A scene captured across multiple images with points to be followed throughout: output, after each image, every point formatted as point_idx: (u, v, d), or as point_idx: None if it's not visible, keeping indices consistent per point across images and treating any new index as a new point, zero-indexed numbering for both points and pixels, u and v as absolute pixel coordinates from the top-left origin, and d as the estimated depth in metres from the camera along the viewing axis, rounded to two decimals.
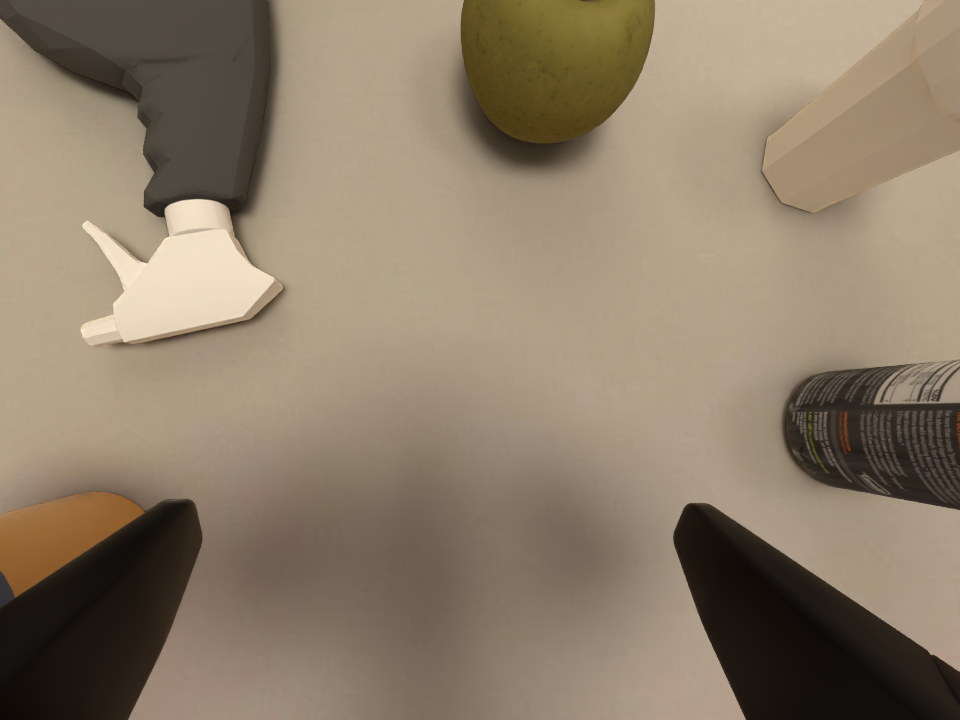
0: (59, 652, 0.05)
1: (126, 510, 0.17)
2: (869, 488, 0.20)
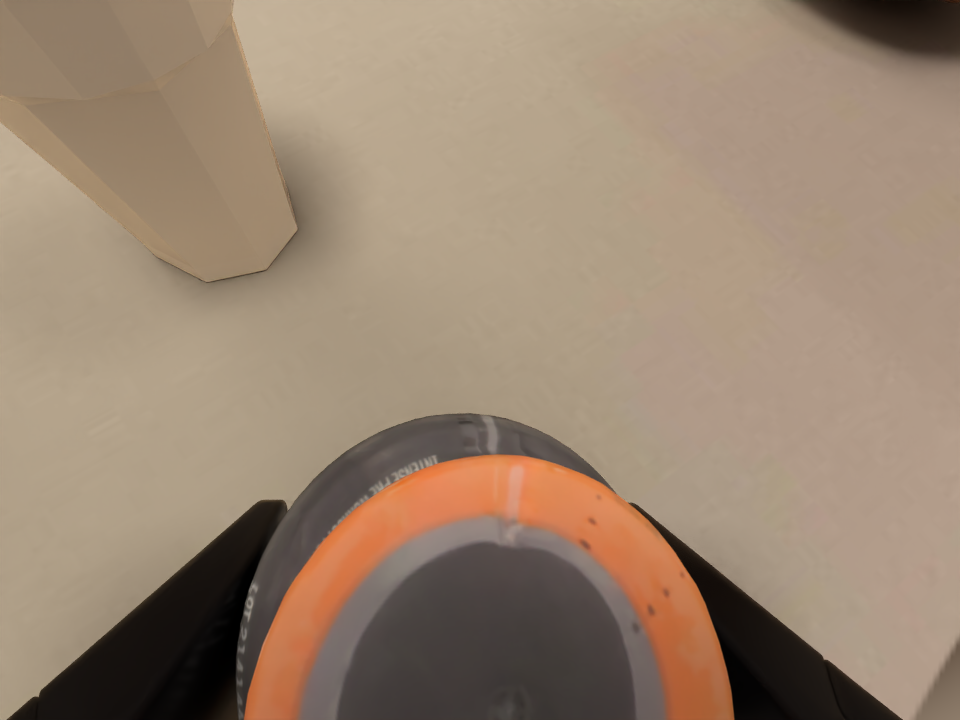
0: (202, 647, 0.05)
1: None
2: None
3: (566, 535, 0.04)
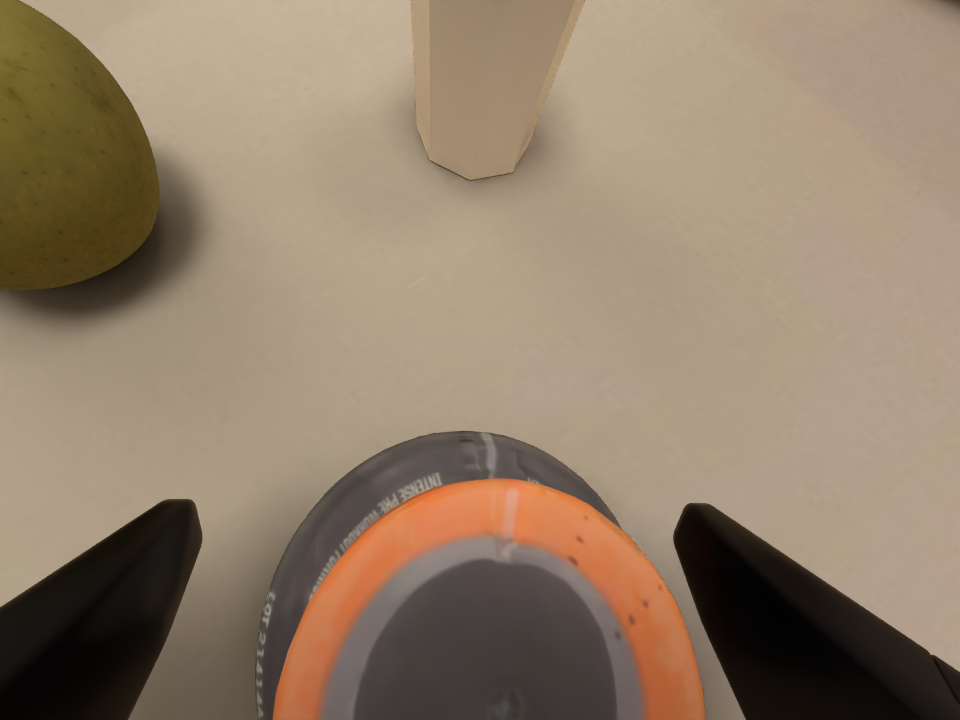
0: (59, 652, 0.05)
1: None
2: None
3: (556, 553, 0.04)
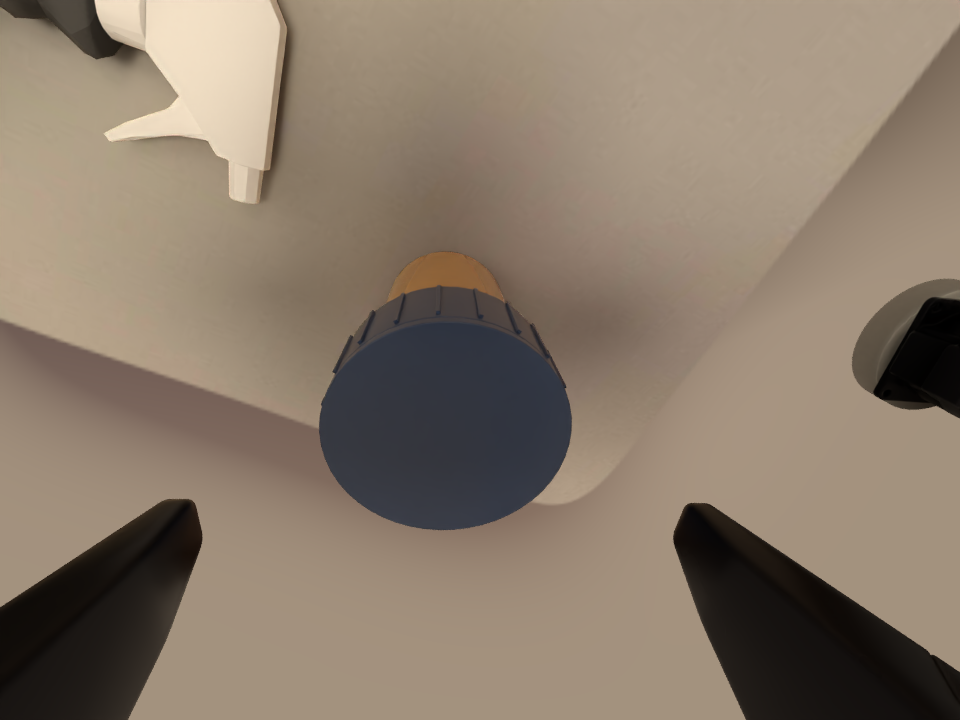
0: (59, 652, 0.05)
1: (426, 258, 0.18)
2: None
3: None
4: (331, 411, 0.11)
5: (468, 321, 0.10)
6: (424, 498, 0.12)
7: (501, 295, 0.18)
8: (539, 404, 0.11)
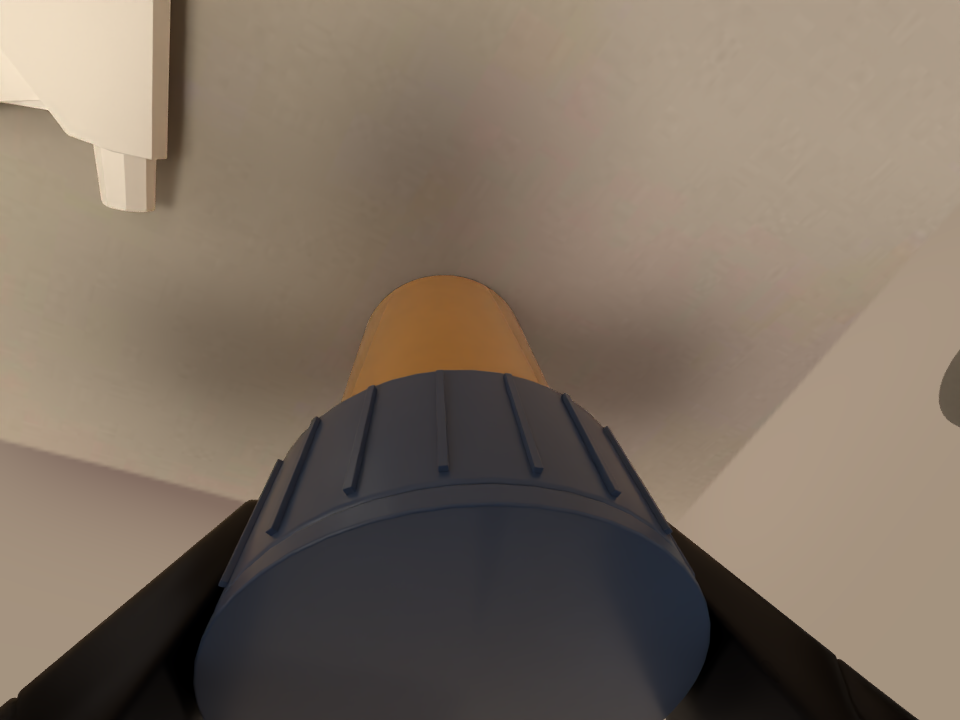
0: (185, 648, 0.05)
1: (415, 287, 0.13)
2: None
3: None
4: (217, 672, 0.05)
5: (514, 496, 0.04)
6: None
7: (527, 342, 0.12)
8: (652, 628, 0.05)
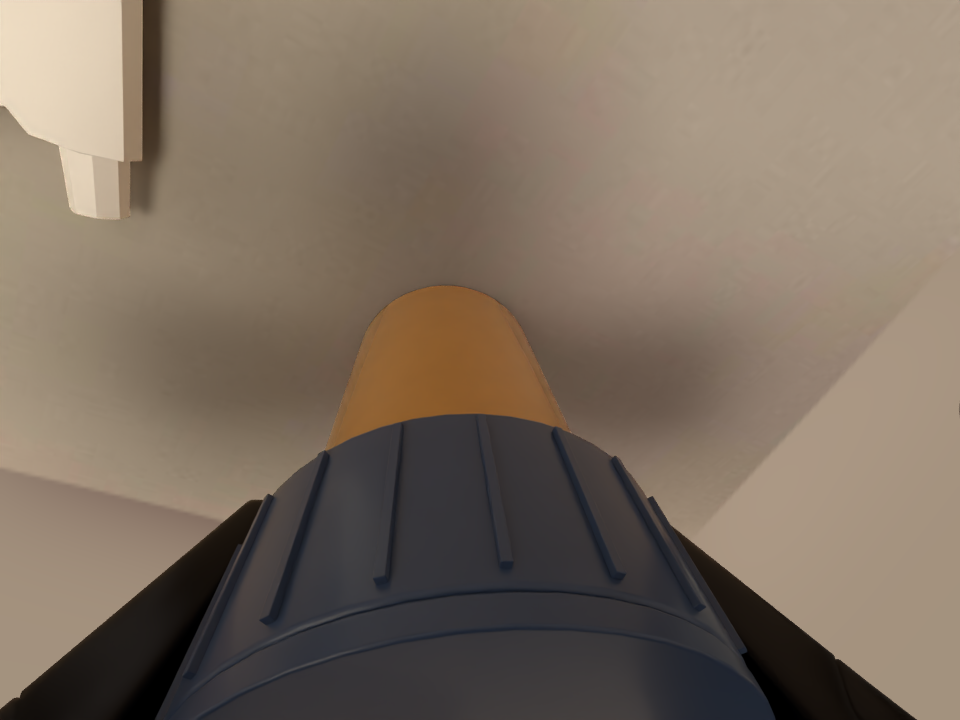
0: (187, 648, 0.05)
1: (414, 299, 0.12)
2: None
3: None
4: None
5: (223, 690, 0.03)
6: None
7: (536, 359, 0.11)
8: (586, 688, 0.04)
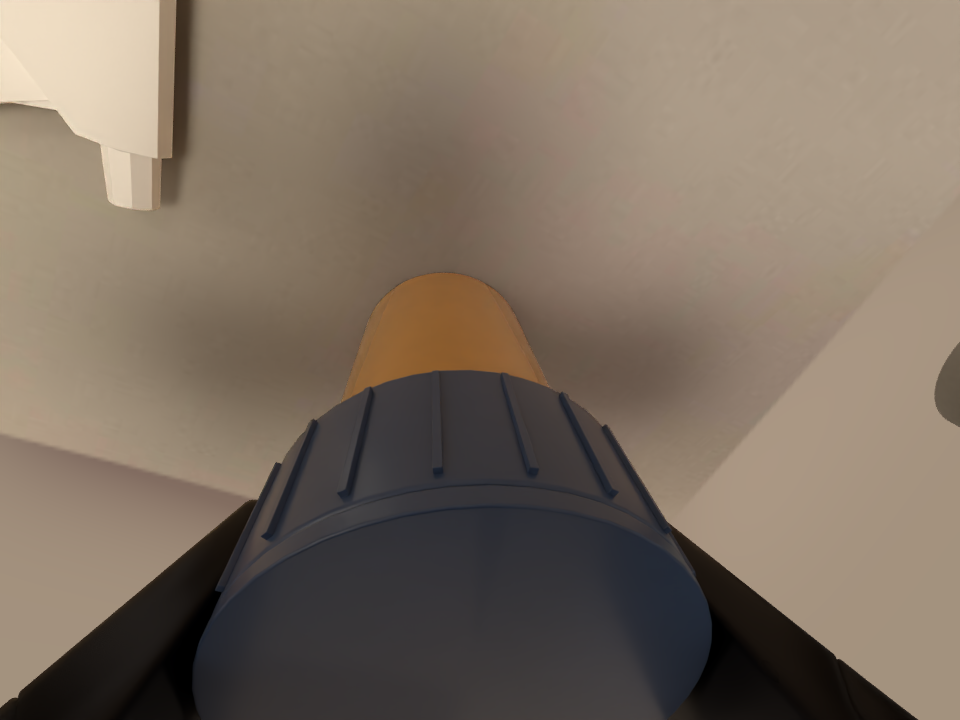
0: (186, 648, 0.05)
1: (415, 284, 0.13)
2: None
3: None
4: None
5: None
6: (610, 703, 0.06)
7: (525, 338, 0.12)
8: (366, 582, 0.04)
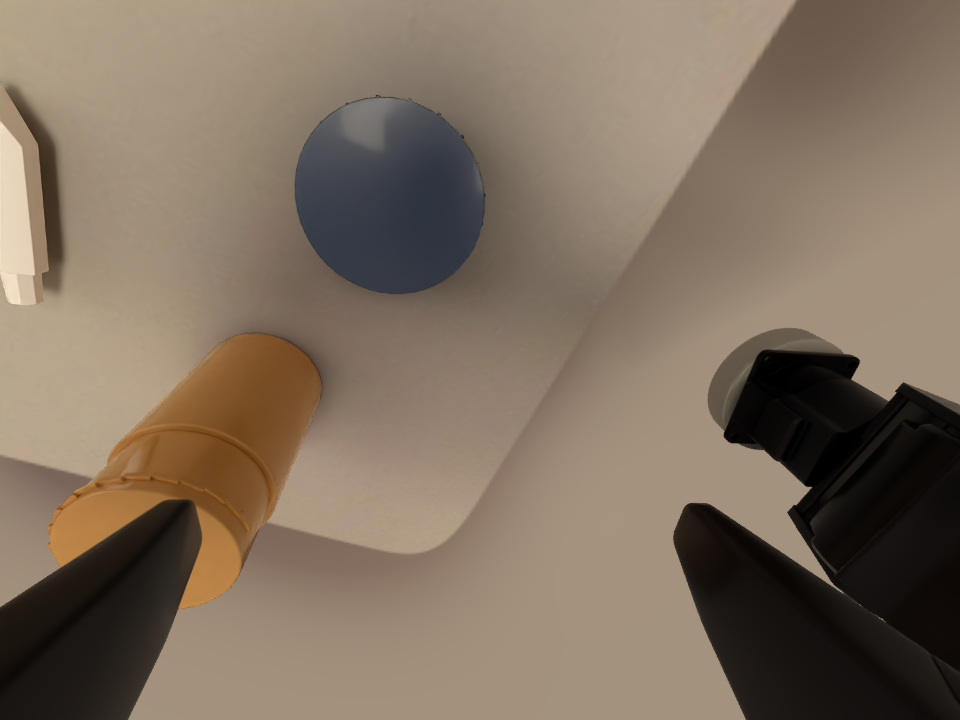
0: (59, 652, 0.05)
1: (227, 343, 0.19)
2: None
3: None
4: (374, 284, 0.16)
5: (295, 190, 0.15)
6: (450, 223, 0.16)
7: (293, 382, 0.18)
8: (354, 130, 0.14)
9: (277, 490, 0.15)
